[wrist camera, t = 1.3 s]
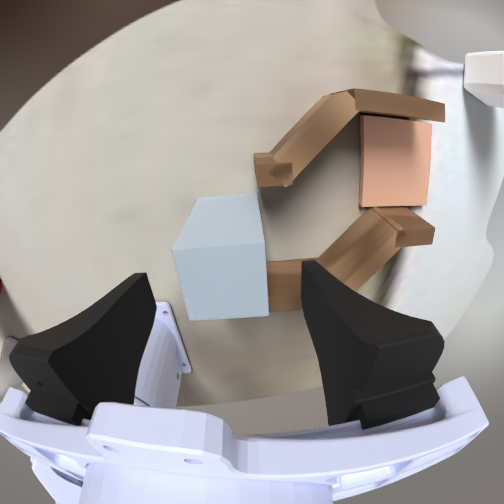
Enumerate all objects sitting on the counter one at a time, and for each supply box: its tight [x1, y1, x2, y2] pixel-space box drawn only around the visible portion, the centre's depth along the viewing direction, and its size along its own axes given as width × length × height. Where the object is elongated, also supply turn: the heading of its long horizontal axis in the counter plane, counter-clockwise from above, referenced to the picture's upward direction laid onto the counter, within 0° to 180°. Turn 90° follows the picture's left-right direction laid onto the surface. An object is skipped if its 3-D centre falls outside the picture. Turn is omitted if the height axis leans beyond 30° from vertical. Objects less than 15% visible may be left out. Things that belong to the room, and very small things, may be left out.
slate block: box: [172, 192, 269, 320], centre depth 16 cm, size 4×4×8 cm
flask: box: [0, 337, 23, 405], centre depth 23 cm, size 7×7×10 cm
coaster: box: [359, 115, 432, 207], centre depth 17 cm, size 7×6×1 cm
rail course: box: [254, 89, 445, 312], centre depth 17 cm, size 13×12×4 cm
